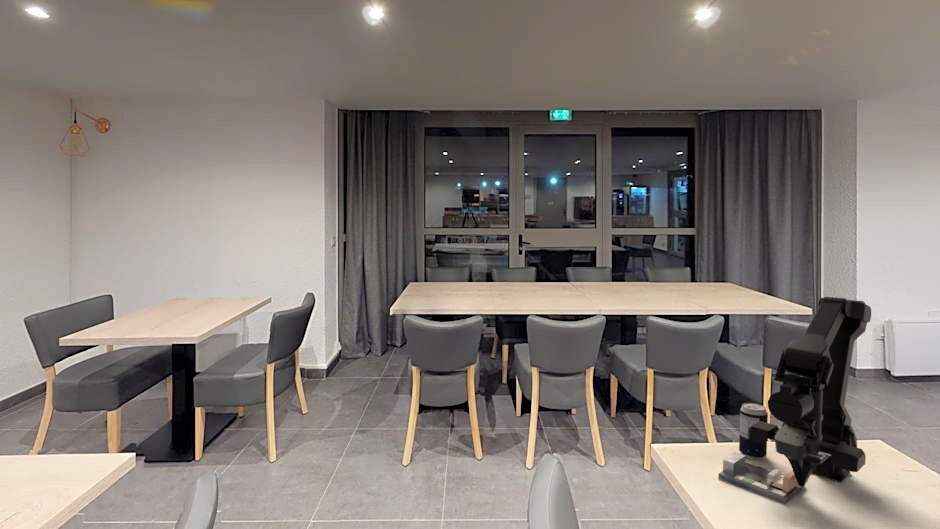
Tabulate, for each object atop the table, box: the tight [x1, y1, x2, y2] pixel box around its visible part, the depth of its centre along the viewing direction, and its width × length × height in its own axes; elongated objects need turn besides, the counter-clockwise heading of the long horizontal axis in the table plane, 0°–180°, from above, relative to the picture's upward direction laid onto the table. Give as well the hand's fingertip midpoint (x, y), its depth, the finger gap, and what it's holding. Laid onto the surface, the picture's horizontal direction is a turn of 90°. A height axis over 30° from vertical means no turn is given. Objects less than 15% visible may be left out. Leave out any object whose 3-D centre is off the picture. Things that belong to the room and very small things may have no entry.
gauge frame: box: [718, 451, 806, 505], centre depth 103 cm, size 10×13×4 cm
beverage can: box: [738, 402, 769, 460], centre depth 115 cm, size 6×6×12 cm
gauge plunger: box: [767, 468, 798, 492], centre depth 99 cm, size 7×4×3 cm, turn 127°
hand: (801, 485), depth 97 cm, fingers closed
